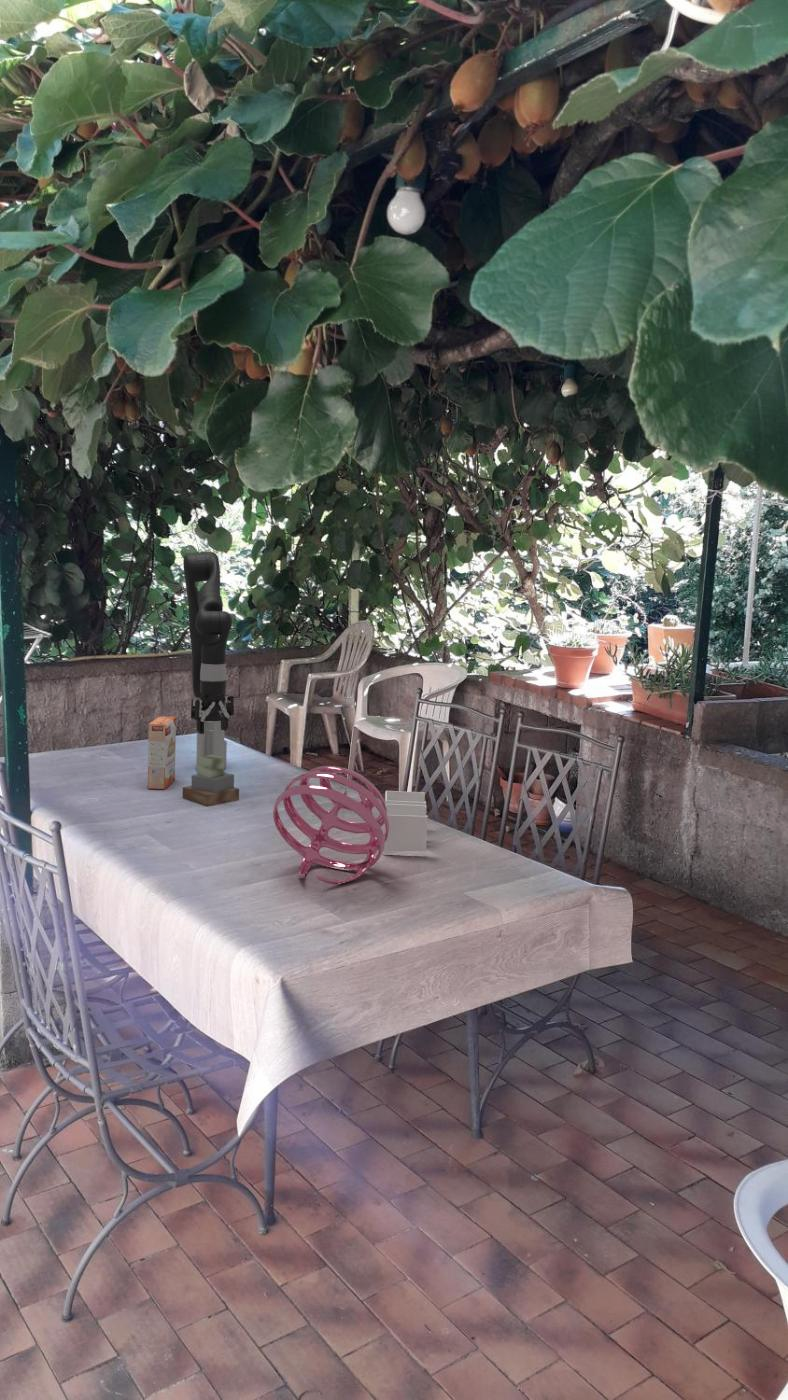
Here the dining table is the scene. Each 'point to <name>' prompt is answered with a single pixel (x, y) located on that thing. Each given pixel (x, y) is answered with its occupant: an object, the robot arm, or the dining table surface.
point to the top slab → (213, 783)
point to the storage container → (406, 821)
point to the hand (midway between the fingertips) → (212, 731)
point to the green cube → (210, 766)
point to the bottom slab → (210, 796)
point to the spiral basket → (334, 820)
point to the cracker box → (161, 752)
